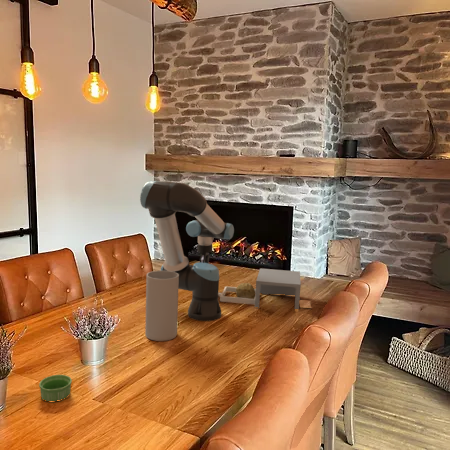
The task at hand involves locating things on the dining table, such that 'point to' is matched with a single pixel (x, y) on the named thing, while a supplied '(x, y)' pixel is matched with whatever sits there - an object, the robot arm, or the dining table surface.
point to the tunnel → (278, 284)
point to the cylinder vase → (161, 305)
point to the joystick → (234, 299)
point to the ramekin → (55, 387)
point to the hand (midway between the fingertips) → (203, 288)
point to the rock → (245, 291)
